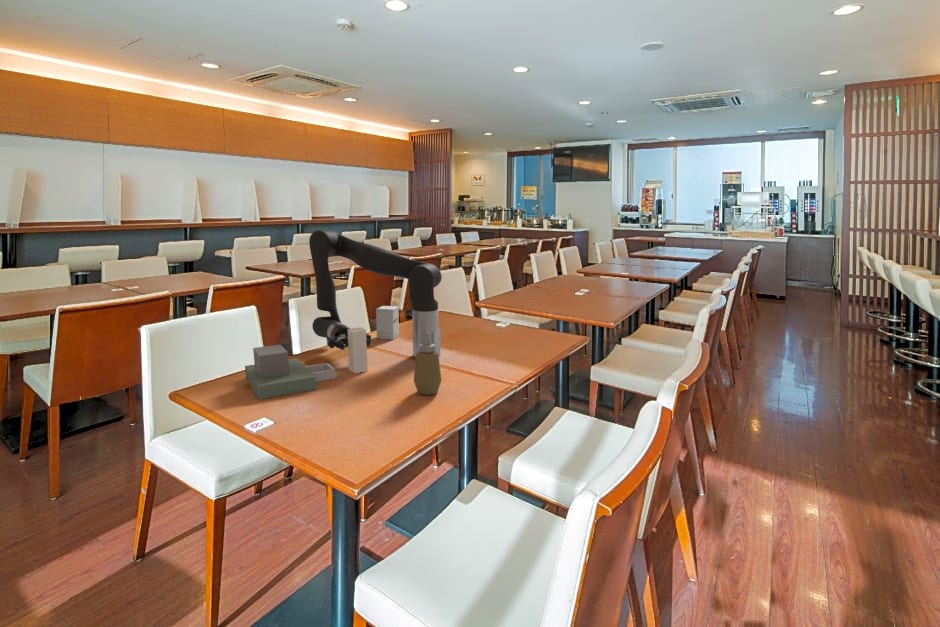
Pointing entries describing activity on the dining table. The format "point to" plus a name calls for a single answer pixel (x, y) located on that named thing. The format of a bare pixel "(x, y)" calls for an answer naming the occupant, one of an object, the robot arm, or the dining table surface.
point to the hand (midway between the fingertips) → (355, 345)
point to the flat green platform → (283, 373)
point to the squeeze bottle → (427, 368)
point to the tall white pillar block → (357, 350)
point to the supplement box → (387, 322)
